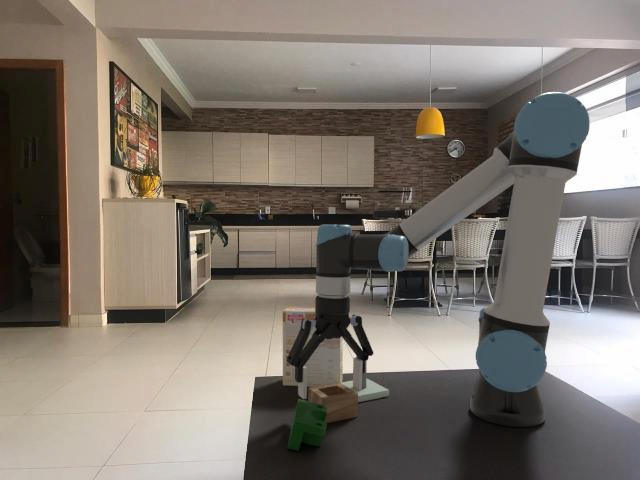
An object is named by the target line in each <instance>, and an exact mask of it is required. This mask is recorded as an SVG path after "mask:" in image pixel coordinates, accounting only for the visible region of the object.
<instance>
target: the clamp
mask: <svg viewBox="0 0 640 480" xmlns="http://www.w3.org/2000/svg"><path fill="white" fill-rule="evenodd" d="M326 414H327V408H326V407H325V406H323V405H321V404H317V403H313V402H309V401H308V400H306V399H302V398H301V399H300V398H298V399H297V404H296V407H295V411H294V416H293V419H292V423H291V425H290V426H291V427H290V433H289V438H288V443H287V448H286V449H289V450H293V451H297V452H299V451H300V447H301V443H303V444H308V445H312V446H315V447H322V443H323V440H324V436H325V435H326V432H327V431H326V430H327V427H328V423H327V422H325V418H326Z"/></svg>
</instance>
